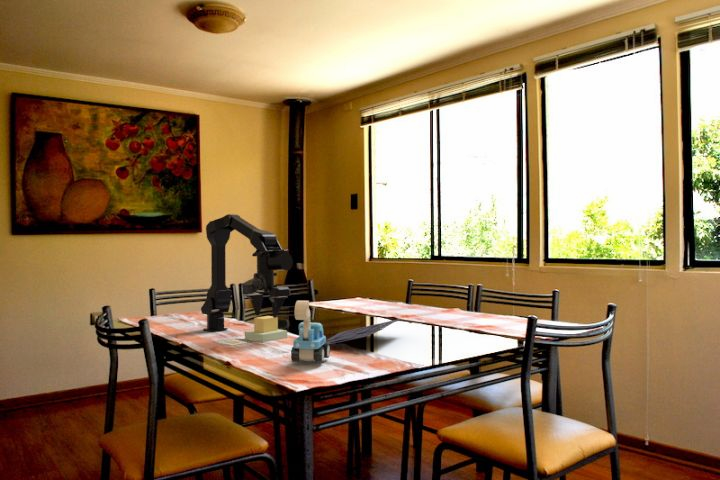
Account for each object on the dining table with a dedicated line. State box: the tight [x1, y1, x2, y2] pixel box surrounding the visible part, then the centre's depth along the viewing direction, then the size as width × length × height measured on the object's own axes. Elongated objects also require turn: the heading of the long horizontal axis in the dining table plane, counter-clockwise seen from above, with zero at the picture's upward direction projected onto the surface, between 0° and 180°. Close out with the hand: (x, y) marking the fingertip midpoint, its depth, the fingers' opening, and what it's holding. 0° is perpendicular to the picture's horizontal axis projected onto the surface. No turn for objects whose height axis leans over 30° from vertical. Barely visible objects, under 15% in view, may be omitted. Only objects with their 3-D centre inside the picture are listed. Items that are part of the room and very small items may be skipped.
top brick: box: [253, 315, 279, 333], centre depth 183 cm, size 5×6×4 cm
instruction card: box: [217, 339, 248, 347], centre depth 175 cm, size 8×6×1 cm
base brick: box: [244, 329, 288, 343], centre depth 182 cm, size 10×10×3 cm
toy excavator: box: [290, 300, 331, 363], centre depth 145 cm, size 9×17×17 cm, turn 170°
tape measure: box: [278, 318, 291, 330], centre depth 199 cm, size 7×7×4 cm
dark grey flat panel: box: [326, 318, 401, 345], centre depth 177 cm, size 24×30×4 cm
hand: (266, 316), depth 182 cm, fingers open, 9 cm apart
